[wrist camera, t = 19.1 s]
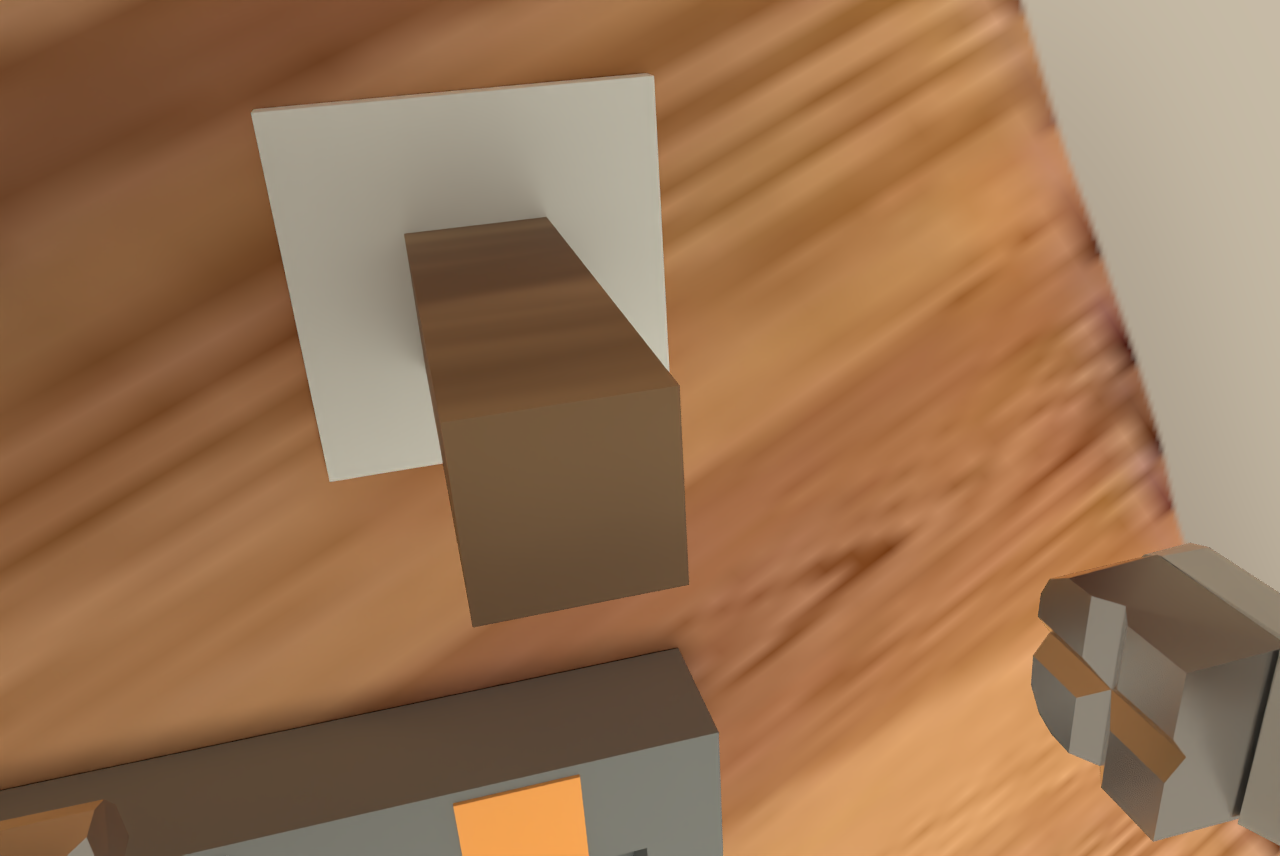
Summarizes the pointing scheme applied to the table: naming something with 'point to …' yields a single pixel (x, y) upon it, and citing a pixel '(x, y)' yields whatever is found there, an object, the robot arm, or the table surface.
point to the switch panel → (441, 777)
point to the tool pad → (440, 199)
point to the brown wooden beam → (546, 424)
